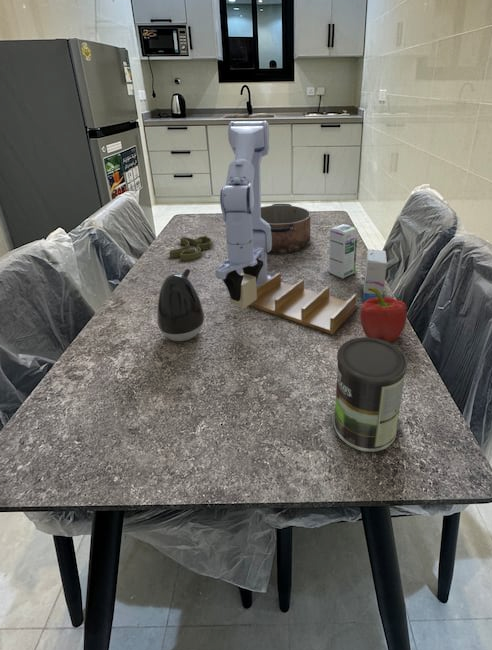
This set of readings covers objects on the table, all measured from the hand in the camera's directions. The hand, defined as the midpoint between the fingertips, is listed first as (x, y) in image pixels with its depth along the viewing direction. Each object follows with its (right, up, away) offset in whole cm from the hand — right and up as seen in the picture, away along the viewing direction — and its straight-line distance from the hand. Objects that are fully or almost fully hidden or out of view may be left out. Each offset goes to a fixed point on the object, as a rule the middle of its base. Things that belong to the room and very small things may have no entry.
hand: (243, 294), depth 89 cm
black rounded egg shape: (-14, -9, -1) cm, 16 cm away
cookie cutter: (-22, +11, +45) cm, 52 cm away
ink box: (+33, -2, +14) cm, 36 cm away
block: (0, -2, +1) cm, 2 cm away
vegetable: (+31, -9, -2) cm, 33 cm away
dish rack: (+14, -4, +9) cm, 18 cm away
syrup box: (+27, +4, +27) cm, 38 cm away
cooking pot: (+8, +14, +51) cm, 53 cm away
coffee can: (+23, -19, -25) cm, 39 cm away
